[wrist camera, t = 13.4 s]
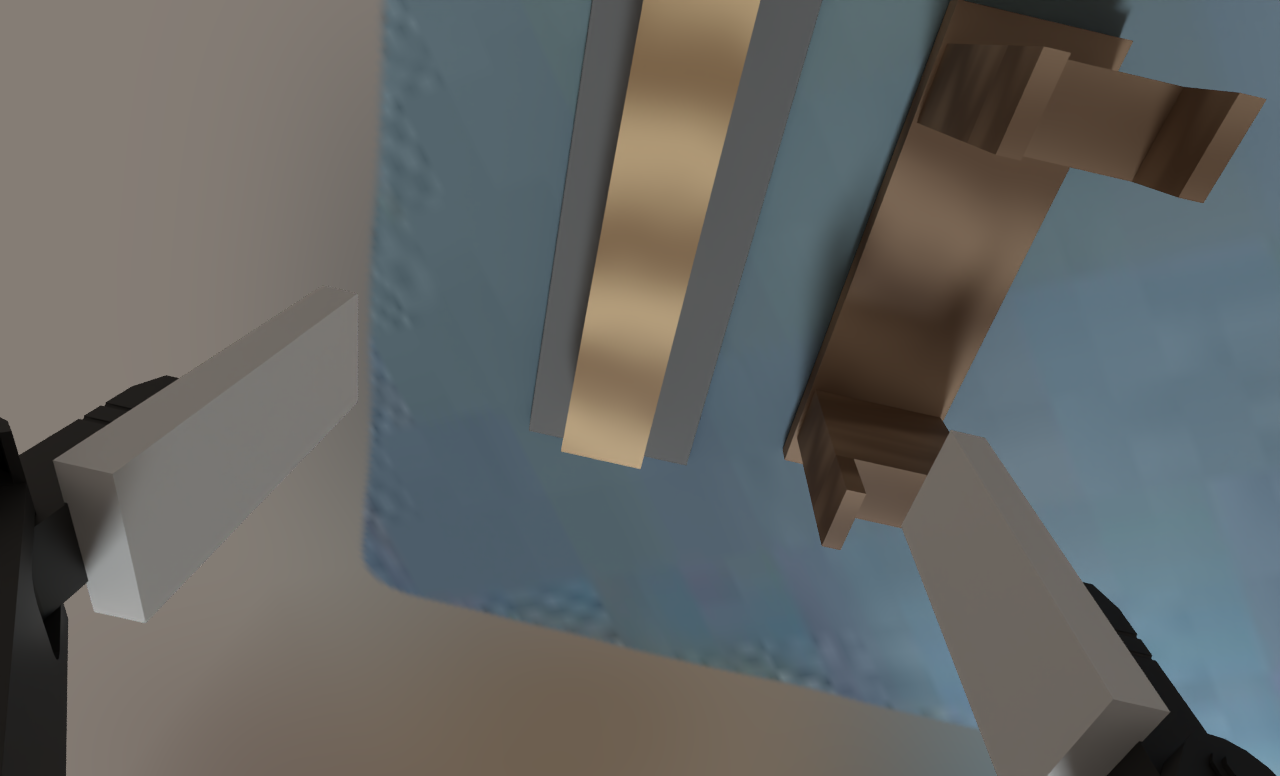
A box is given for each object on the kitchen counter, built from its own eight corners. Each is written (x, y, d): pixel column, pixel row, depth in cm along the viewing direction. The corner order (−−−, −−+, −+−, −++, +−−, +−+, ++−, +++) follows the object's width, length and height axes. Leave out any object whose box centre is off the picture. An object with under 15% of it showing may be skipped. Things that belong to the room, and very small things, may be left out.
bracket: (950, 0, 26) (1064, -16, 18) (1118, 40, 27) (1308, 42, 18) (782, 449, 37) (805, 570, 29) (904, 476, 37) (963, 605, 29)
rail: (664, -67, 26) (658, -83, 22) (764, -43, 26) (774, -55, 22) (575, 410, 36) (561, 451, 33) (646, 426, 36) (640, 469, 33)
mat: (616, -145, 25) (614, -148, 25) (845, -89, 25) (849, -92, 25) (531, 424, 38) (528, 430, 37) (686, 459, 38) (686, 465, 37)
